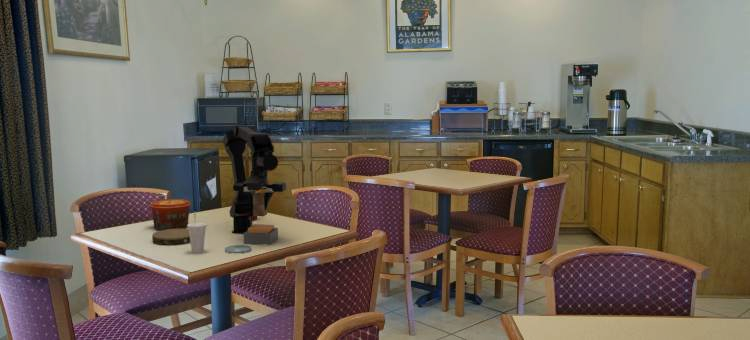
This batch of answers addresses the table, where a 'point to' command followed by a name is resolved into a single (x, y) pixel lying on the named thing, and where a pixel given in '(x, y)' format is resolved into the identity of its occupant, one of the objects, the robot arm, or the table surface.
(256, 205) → the brown upright block
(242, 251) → the saucer
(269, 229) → the button
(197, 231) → the smoothie
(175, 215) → the food container
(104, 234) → the table surface
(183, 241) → the tin can
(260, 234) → the box
